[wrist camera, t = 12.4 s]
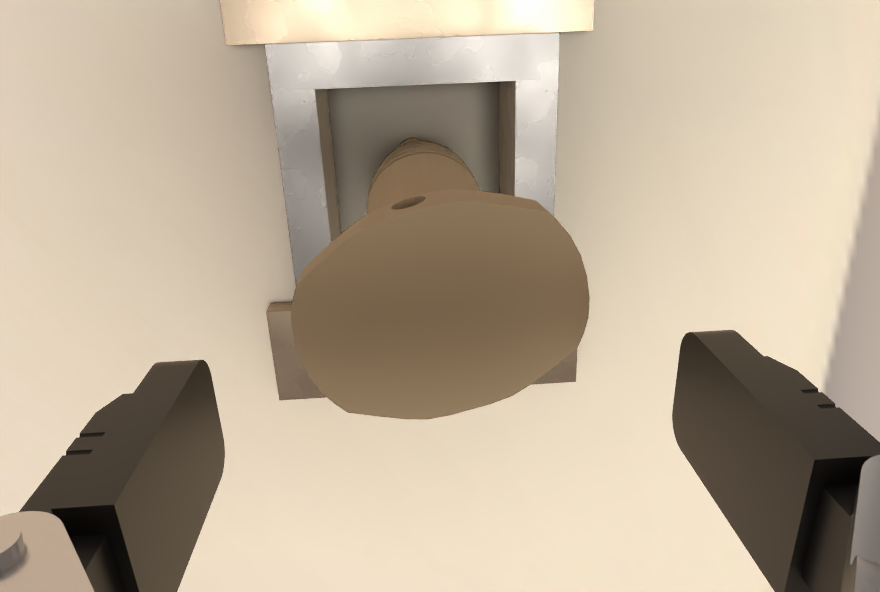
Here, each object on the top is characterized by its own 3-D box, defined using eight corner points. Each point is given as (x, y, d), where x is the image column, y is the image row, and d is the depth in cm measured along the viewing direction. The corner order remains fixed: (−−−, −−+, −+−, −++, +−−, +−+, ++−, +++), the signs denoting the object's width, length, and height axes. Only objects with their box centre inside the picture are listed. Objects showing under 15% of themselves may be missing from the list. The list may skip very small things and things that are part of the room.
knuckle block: (212, -88, 24) (179, -110, 20) (591, -100, 24) (626, -123, 21) (282, 389, 31) (267, 437, 28) (570, 371, 32) (593, 416, 28)
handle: (505, 206, 29) (606, 371, 15) (365, 246, 29) (336, 446, 15) (477, 96, 27) (563, 167, 13) (328, 140, 27) (257, 257, 13)
